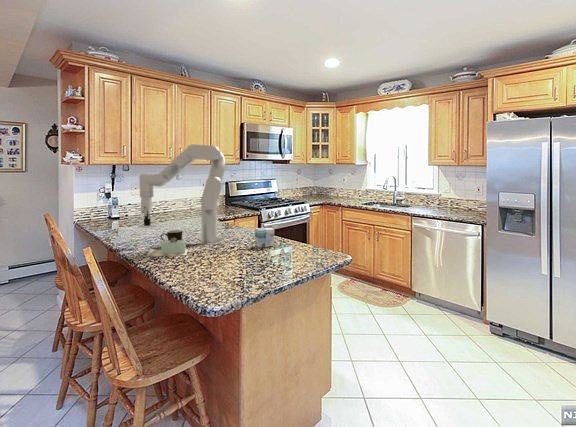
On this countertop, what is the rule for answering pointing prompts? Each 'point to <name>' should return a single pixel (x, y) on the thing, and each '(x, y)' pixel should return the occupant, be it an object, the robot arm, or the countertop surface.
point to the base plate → (158, 253)
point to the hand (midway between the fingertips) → (147, 225)
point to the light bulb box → (264, 237)
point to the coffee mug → (173, 235)
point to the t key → (147, 226)
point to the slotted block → (173, 247)
